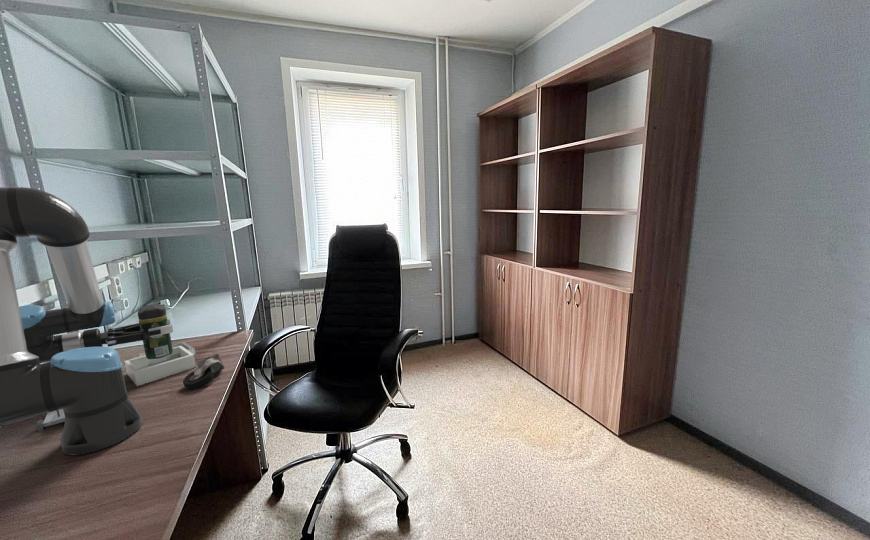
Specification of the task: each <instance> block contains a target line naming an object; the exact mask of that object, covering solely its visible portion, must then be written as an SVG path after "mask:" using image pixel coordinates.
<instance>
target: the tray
mask: <svg viewBox="0 0 870 540" xmlns="http://www.w3.org/2000/svg"><path fill="white" fill-rule="evenodd" d="M178 353H180V356H179V358H175V359H174V358H170V357H169V356H171V355H174V354H176V355H177V354H178ZM174 356H175V355H174ZM165 357H167V356H165ZM168 357H169V358H170V359H172V360H169V361H168V360H167V361H166V360H165V362H162V363H159V362H161V360H160V361H157V359H147V358H146V355H145V356H141V357H140V356H138V357H133V358H130V359H127V360H124V365H125V370H126V375H127V376H128V377H129V378H130V379H131V381H132V382H133V383H134V384H135V386H136V387H139V385H140V386H142V385H143V386H144V385H145V383H146V384H148V383H151V382H154V381H158V380H161V379H164V378H168V377H171V376H173V375H177V374H180V373H183V372H185V371H189V370H192V369H196V368H197V363H196V359H195V355H194V354H192V353H191V352H190V351H188V350H187V349H185V348H184V347H182V346H177V347H174V348H173V352H172V354H170V355H168ZM168 357H167V359H169V358H168ZM159 359H160V358H159ZM159 359H158V360H159ZM161 359H162V358H161ZM163 359H164V357H163ZM153 360H154V361H153ZM155 360H156V363H158V364H155V365H152V366H148V365H150V364H151V363H150V362H151V361H153V362H155ZM148 362H149V363H150V364H148ZM170 375H171V376H170ZM167 376H168V377H167Z"/></svg>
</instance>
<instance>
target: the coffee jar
mask: <svg viewBox="0 0 870 540" xmlns="http://www.w3.org/2000/svg"><path fill="white" fill-rule="evenodd" d="M137 318H138V323H139V325H140V330H141V331H145V330H148V329H152V328H157V327H162V326H167V325H168V319H169V318H168V314H167V309H166V306H164V305H162V304H159V303H153V304H146V305H143V306H142V307H141V308H139V309H138V311H137ZM148 331H149V330H148ZM171 336H172V335H171V333H167V334H163V335H158V336H153V337H150V336H149V337H150V340H142V344H143V350H144V352H145V355H146V358H147V359H159V358H163V357H165V356H168V355H170V354H172V352H173V347H172V345H173V342H172V338H171Z"/></svg>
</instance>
